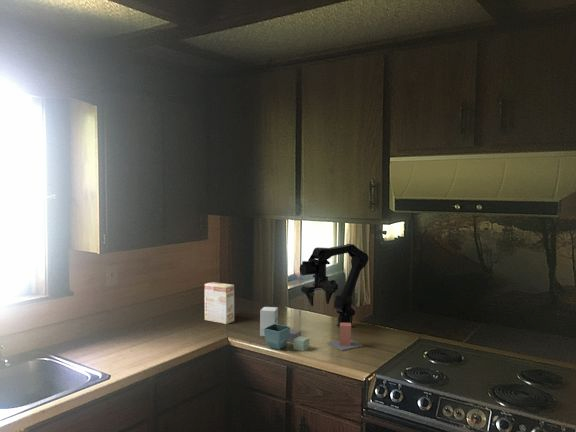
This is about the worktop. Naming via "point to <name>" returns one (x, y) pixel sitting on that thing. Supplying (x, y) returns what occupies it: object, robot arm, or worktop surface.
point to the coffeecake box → (219, 302)
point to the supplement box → (268, 318)
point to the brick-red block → (345, 334)
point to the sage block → (301, 343)
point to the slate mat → (342, 348)
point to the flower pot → (276, 335)
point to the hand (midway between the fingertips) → (319, 305)
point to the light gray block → (293, 335)
